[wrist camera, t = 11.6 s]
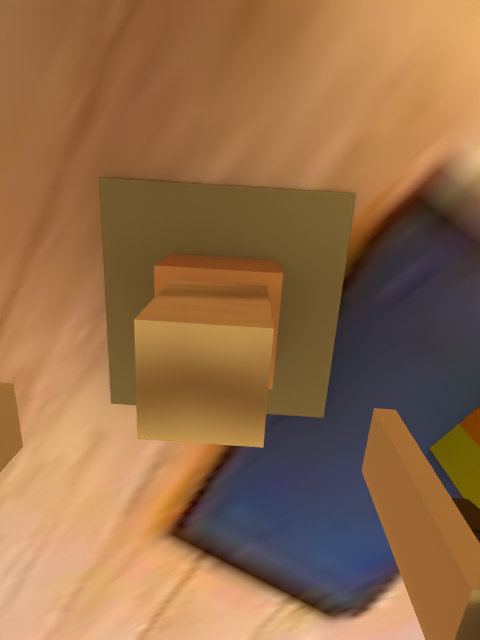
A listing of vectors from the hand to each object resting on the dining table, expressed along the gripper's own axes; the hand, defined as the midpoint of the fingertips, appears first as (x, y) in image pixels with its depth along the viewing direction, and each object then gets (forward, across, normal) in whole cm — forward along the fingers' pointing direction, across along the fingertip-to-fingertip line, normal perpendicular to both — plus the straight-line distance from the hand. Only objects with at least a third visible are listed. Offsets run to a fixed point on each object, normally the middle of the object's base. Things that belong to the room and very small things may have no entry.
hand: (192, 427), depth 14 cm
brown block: (+11, 0, 0) cm, 11 cm away
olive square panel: (+17, 0, 0) cm, 17 cm away
